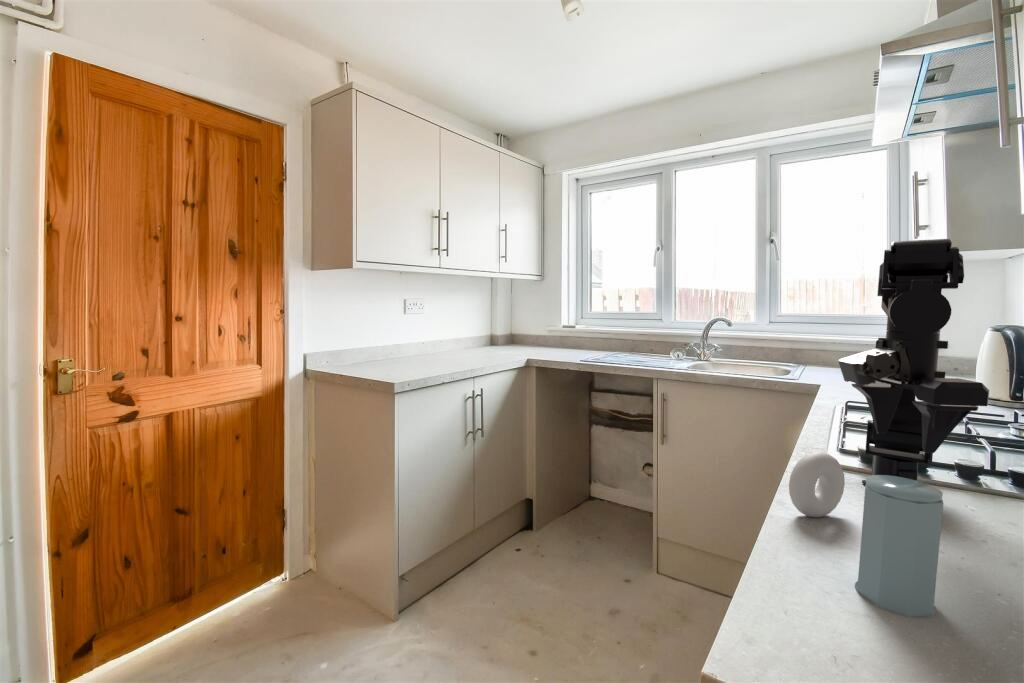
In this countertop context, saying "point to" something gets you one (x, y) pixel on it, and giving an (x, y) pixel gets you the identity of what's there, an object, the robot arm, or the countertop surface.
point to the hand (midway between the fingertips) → (903, 442)
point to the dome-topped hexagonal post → (900, 544)
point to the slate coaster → (893, 611)
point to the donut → (805, 481)
